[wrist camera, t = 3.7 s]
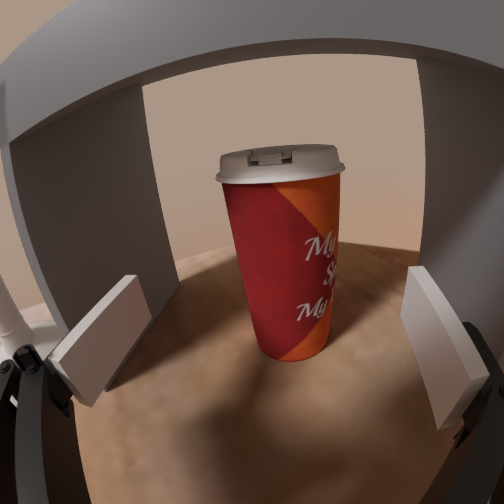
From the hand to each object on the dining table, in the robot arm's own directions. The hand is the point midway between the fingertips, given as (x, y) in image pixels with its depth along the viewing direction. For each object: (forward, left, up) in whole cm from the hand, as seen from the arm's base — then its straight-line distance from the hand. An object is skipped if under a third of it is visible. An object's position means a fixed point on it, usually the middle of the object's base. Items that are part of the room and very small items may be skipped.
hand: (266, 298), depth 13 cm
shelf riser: (-1, -6, -8) cm, 10 cm away
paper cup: (-1, -6, -8) cm, 10 cm away
